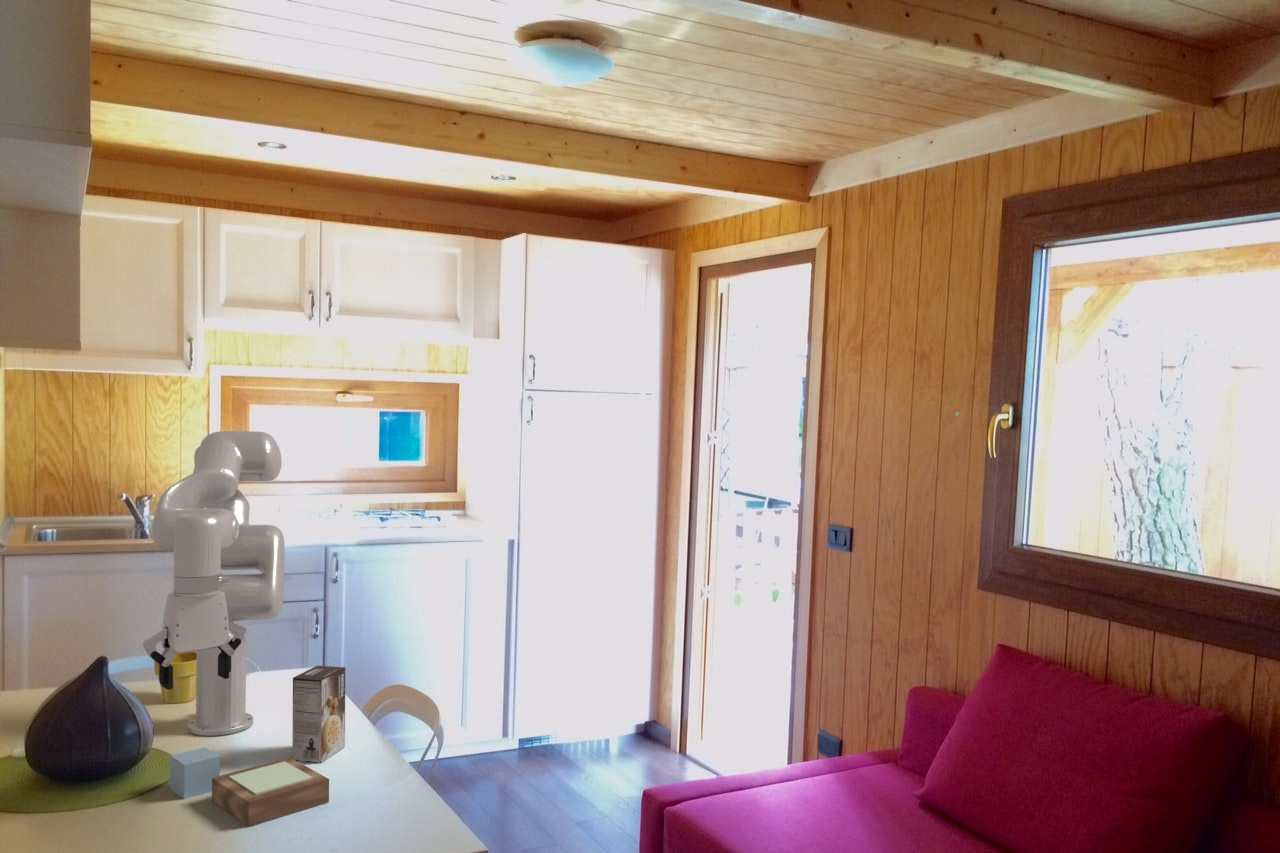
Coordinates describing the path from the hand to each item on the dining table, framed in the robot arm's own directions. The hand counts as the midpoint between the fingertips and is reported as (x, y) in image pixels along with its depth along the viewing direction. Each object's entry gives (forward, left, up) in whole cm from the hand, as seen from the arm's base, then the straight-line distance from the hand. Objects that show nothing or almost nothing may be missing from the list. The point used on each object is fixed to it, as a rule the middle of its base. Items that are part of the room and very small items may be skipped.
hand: (195, 682), depth 171 cm
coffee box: (-1, +24, -19) cm, 31 cm away
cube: (0, 0, -19) cm, 19 cm away
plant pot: (-53, +18, -19) cm, 59 cm away
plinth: (+14, +7, -19) cm, 24 cm away
